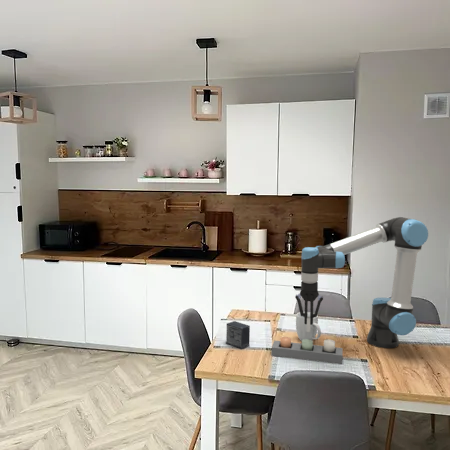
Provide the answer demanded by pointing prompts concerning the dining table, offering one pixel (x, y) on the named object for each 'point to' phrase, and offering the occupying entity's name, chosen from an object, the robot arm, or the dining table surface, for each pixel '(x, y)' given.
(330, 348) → the key ivory
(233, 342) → the small box
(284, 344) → the key terracotta
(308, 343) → the key sage
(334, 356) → the grey long block
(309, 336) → the mug
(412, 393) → the dining table surface
